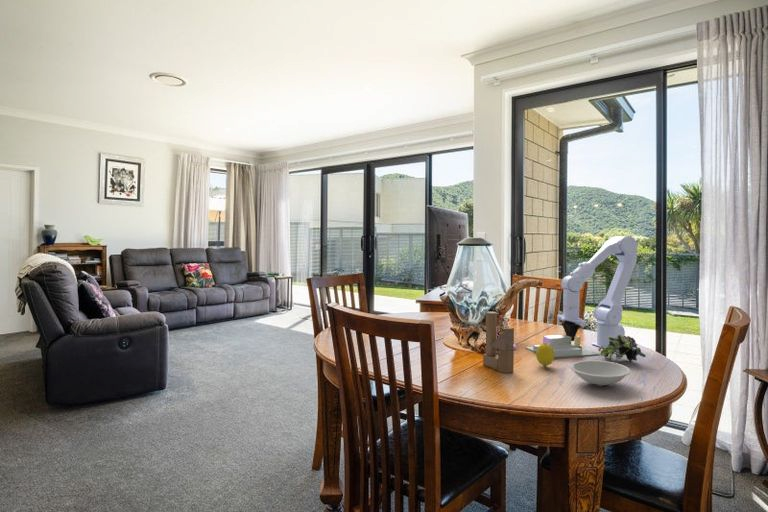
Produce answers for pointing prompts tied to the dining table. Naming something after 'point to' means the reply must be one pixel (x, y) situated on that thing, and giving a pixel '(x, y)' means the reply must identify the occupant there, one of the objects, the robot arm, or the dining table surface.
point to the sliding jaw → (576, 345)
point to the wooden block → (498, 346)
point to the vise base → (584, 352)
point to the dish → (600, 371)
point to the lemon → (545, 354)
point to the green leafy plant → (622, 348)
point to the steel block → (558, 341)
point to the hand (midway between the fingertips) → (570, 340)
